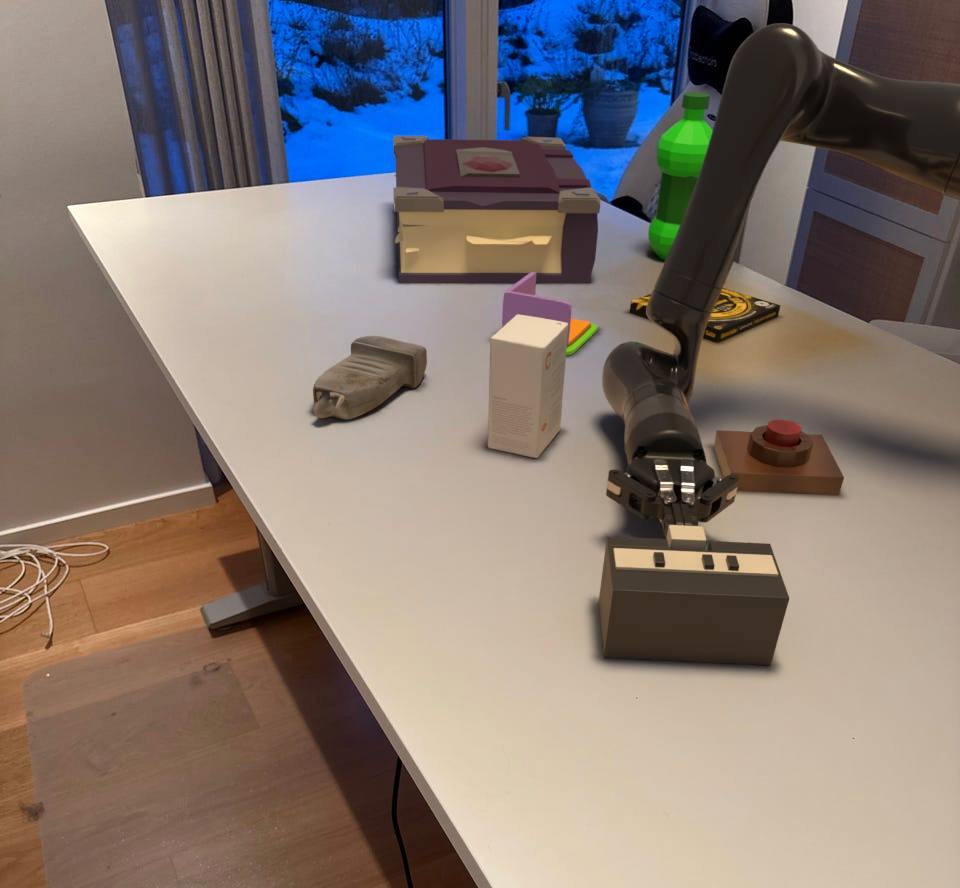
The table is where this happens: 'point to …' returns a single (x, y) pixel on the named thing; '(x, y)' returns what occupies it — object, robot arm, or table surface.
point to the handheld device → (368, 376)
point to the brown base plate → (778, 463)
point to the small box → (526, 384)
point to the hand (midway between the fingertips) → (683, 535)
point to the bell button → (782, 433)
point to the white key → (686, 537)
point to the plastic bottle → (679, 170)
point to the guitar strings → (726, 314)
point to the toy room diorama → (545, 311)
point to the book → (492, 211)
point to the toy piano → (691, 601)
